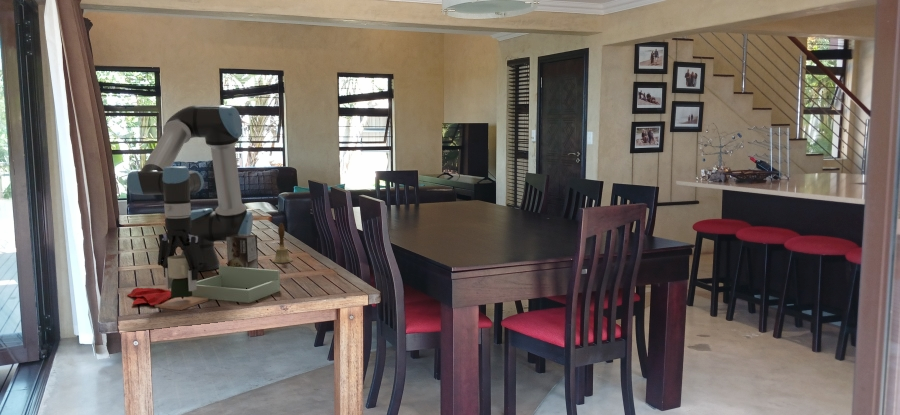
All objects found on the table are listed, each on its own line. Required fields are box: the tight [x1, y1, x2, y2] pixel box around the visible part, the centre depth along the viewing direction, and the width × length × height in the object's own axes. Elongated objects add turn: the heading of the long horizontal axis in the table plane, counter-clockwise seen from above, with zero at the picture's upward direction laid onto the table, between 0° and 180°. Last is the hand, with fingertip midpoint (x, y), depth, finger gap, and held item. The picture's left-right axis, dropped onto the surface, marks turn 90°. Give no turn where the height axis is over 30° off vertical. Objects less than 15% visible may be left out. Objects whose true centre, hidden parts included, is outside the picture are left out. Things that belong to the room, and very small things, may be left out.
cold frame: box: [192, 265, 281, 304], centre depth 222 cm, size 24×17×7 cm
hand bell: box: [271, 222, 294, 264], centre depth 278 cm, size 8×8×16 cm
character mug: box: [168, 254, 192, 299], centre depth 209 cm, size 11×7×13 cm, turn 32°
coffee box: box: [226, 234, 259, 269], centre depth 244 cm, size 9×6×16 cm
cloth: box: [126, 287, 171, 306], centre depth 216 cm, size 26×14×2 cm, turn 29°
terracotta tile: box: [154, 296, 209, 311], centre depth 210 cm, size 10×12×1 cm
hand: (181, 288), depth 209 cm, fingers closed on character mug, 8 cm apart
